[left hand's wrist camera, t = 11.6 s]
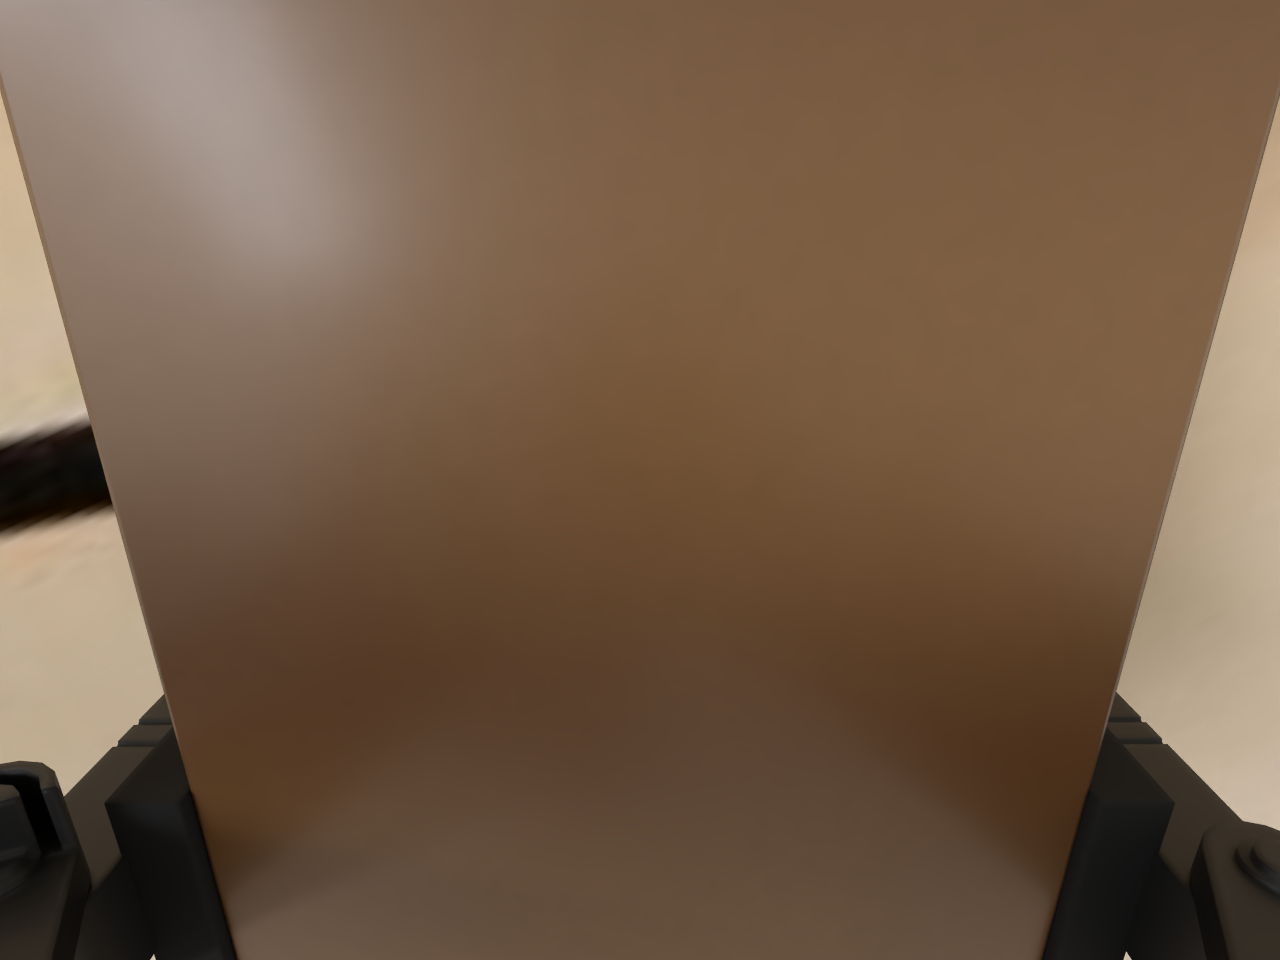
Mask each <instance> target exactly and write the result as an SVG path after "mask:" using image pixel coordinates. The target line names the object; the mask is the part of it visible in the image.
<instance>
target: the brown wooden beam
mask: <svg viewBox="0 0 1280 960" xmlns="http://www.w3.org/2000/svg"><path fill="white" fill-rule="evenodd" d="M0 91H1V95H2V98H3V102H4V106H5V110H6V113H7V117H8V121H9V124H10V128H11V132H12V135H13V139H14V143H15V146H16V150H17V154H18V157H19V161H20V165H21V168H22V172H23V176H24V179H25V183H26V187H27V190H28V194H29V198H30V201H31V205H32V209H33V212H34V216H35V220H36V223H37V227H38V231H39V235H40V238H41V242H42V246H43V249H44V253H45V257H46V260H47V264H48V268H49V271H50V275H51V279H52V282H53V286H54V290H55V293H56V297H57V301H58V304H59V308H60V312H61V315H62V319H63V323H64V326H65V330H66V334H67V337H68V341H69V345H70V348H71V352H72V356H73V359H74V363H75V367H76V371H77V374H78V378H79V382H80V385H81V389H82V393H83V396H84V400H85V404H86V407H87V411H88V415H89V418H90V422H91V426H92V429H93V433H94V437H95V440H96V444H97V448H98V451H99V455H100V459H101V462H102V466H103V470H104V473H105V477H106V481H107V484H108V488H109V492H110V495H111V499H112V503H113V507H114V510H115V514H116V518H117V521H118V525H119V529H120V532H121V536H122V540H123V543H124V547H125V551H126V554H127V558H128V562H129V565H130V569H131V573H132V576H133V580H134V584H135V587H136V591H137V595H138V598H139V602H140V606H141V609H142V613H143V617H144V620H145V624H146V628H147V632H148V635H149V639H150V643H151V646H152V650H153V654H154V657H155V661H156V665H157V668H158V672H159V676H160V679H161V683H162V687H163V690H164V694H165V698H166V701H167V705H168V709H169V712H170V716H171V720H172V723H173V727H174V731H175V734H176V738H177V742H178V745H179V749H180V753H181V756H182V760H183V764H184V768H185V771H186V775H187V779H188V782H189V786H190V790H191V793H192V797H193V801H194V804H195V808H196V812H197V815H198V819H199V823H200V826H201V830H202V834H203V837H204V841H205V845H206V848H207V852H208V856H209V859H210V863H211V867H212V870H213V874H214V878H215V881H216V885H217V889H218V893H219V896H220V900H221V904H222V907H223V911H224V915H225V918H226V922H227V926H228V929H229V933H230V937H231V940H232V944H233V948H234V951H235V955H236V959H237V960H1042V959H1043V955H1044V952H1045V948H1046V944H1047V941H1048V937H1049V933H1050V930H1051V926H1052V923H1053V919H1054V915H1055V912H1056V908H1057V904H1058V901H1059V897H1060V893H1061V890H1062V886H1063V882H1064V879H1065V875H1066V872H1067V868H1068V864H1069V861H1070V857H1071V853H1072V850H1073V846H1074V842H1075V839H1076V835H1077V832H1078V828H1079V824H1080V821H1081V817H1082V813H1083V810H1084V806H1085V802H1086V799H1087V795H1088V791H1089V788H1090V784H1091V781H1092V777H1093V773H1094V770H1095V766H1096V762H1097V759H1098V755H1099V751H1100V748H1101V744H1102V741H1103V737H1104V733H1105V730H1106V726H1107V722H1108V719H1109V715H1110V711H1111V708H1112V704H1113V700H1114V697H1115V693H1116V690H1117V686H1118V682H1119V679H1120V675H1121V671H1122V668H1123V664H1124V660H1125V657H1126V653H1127V650H1128V646H1129V642H1130V639H1131V635H1132V631H1133V628H1134V624H1135V620H1136V617H1137V613H1138V609H1139V606H1140V602H1141V599H1142V595H1143V591H1144V588H1145V584H1146V580H1147V577H1148V573H1149V569H1150V566H1151V562H1152V559H1153V555H1154V551H1155V548H1156V544H1157V540H1158V537H1159V533H1160V529H1161V526H1162V522H1163V518H1164V515H1165V511H1166V508H1167V504H1168V500H1169V497H1170V493H1171V489H1172V486H1173V482H1174V478H1175V475H1176V471H1177V468H1178V464H1179V460H1180V457H1181V453H1182V449H1183V446H1184V442H1185V438H1186V435H1187V431H1188V427H1189V424H1190V420H1191V417H1192V413H1193V409H1194V406H1195V402H1196V398H1197V395H1198V391H1199V387H1200V384H1201V380H1202V377H1203V373H1204V369H1205V366H1206V362H1207V358H1208V355H1209V351H1210V347H1211V344H1212V340H1213V336H1214V333H1215V329H1216V326H1217V322H1218V318H1219V315H1220V311H1221V307H1222V304H1223V300H1224V296H1225V293H1226V289H1227V286H1228V282H1229V278H1230V275H1231V271H1232V267H1233V264H1234V260H1235V256H1236V253H1237V249H1238V245H1239V242H1240V238H1241V235H1242V231H1243V227H1244V224H1245V220H1246V216H1247V213H1248V209H1249V205H1250V202H1251V198H1252V195H1253V191H1254V187H1255V184H1256V180H1257V176H1258V173H1259V169H1260V165H1261V162H1262V158H1263V154H1264V151H1265V147H1266V144H1267V140H1268V136H1269V133H1270V129H1271V125H1272V122H1273V118H1274V114H1275V111H1276V107H1277V104H1278V100H1279V96H1280V0H0Z"/></svg>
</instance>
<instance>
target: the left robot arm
mask: <svg viewBox="0 0 1280 960" xmlns="http://www.w3.org/2000/svg"><path fill="white" fill-rule="evenodd" d="M1126 952H1127V953H1128V955H1129V956H1130V958H1131V959H1132V960H1280V831H1279V830H1276V829H1274V828H1271V827H1268V826H1266V825H1261V824H1255V823H1250V822H1245V821H1242V820H1241V819H1240V818H1239V817H1238V816H1237V815H1236V814H1235V813H1234V812H1233V811H1232V810H1231V809H1230V808H1229V807H1228V806H1227V805H1226V804H1225V802H1224V801H1223V800H1222V799H1221V798H1220V797H1219V796H1218V795H1217V794H1216V793H1215V792H1214V791H1213V790H1212V789H1211V788H1210V787H1209V786H1208V785H1207V784H1206V783H1205V782H1204V781H1203V780H1202V779H1201V778H1200V777H1199V776H1198V775H1197V774H1196V773H1195V772H1194V771H1193V770H1192V769H1191V768H1190V767H1189V766H1188V765H1187V764H1186V763H1185V762H1184V761H1183V760H1182V759H1181V758H1180V757H1179V756H1178V755H1177V754H1176V753H1175V751H1174V750H1173V749H1172V748H1171V747H1170V746H1169V745H1168V744H1163V743H1162V738H1161V737H1160V736H1159V735H1158V734H1157V733H1156V732H1155V731H1154V730H1153V729H1152V728H1151V727H1150V726H1149V725H1148V724H1147V723H1146V722H1142V721H1141V717H1140V716H1139V715H1138V714H1137V713H1136V712H1135V711H1134V710H1133V709H1132V708H1131V707H1130V706H1129V705H1128V704H1127V703H1126V701H1125V700H1124V699H1123V698H1122V697H1121V696H1120V695H1119V694H1118V693H1117V692H1116V693H1115V697H1114V700H1113V704H1112V708H1111V711H1110V715H1109V719H1108V722H1107V726H1106V730H1105V733H1104V737H1103V741H1102V744H1101V748H1100V751H1099V755H1098V759H1097V762H1096V766H1095V770H1094V773H1093V777H1092V781H1091V784H1090V788H1089V791H1088V795H1087V799H1086V802H1085V806H1084V810H1083V813H1082V817H1081V821H1080V824H1079V828H1078V832H1077V835H1076V839H1075V842H1074V846H1073V850H1072V853H1071V857H1070V861H1069V864H1068V868H1067V872H1066V875H1065V879H1064V882H1063V886H1062V890H1061V893H1060V897H1059V901H1058V904H1057V908H1056V912H1055V915H1054V919H1053V923H1052V926H1051V930H1050V933H1049V937H1048V941H1047V944H1046V948H1045V952H1044V955H1043V959H1042V960H1123V959H1124V956H1125V953H1126ZM153 954H154V955H155V958H156V960H237V959H236V955H235V951H234V948H233V944H232V940H231V937H230V933H229V929H228V926H227V922H226V918H225V915H224V911H223V907H222V904H221V900H220V896H219V893H218V889H217V885H216V881H215V878H214V874H213V870H212V867H211V863H210V859H209V856H208V852H207V848H206V845H205V841H204V837H203V834H202V830H201V826H200V823H199V819H198V815H197V812H196V808H195V804H194V801H193V797H192V793H191V790H190V786H189V782H188V779H187V775H186V771H185V768H184V764H183V760H182V756H181V753H180V749H179V745H178V742H177V738H176V734H175V731H174V727H173V723H172V720H171V716H170V712H169V709H168V705H167V701H166V698H165V694H164V695H163V696H162V697H161V698H160V699H159V700H158V701H157V702H156V703H155V704H154V705H153V706H152V707H151V708H150V709H149V710H148V711H147V712H146V713H145V714H144V715H143V716H142V717H141V718H140V719H139V724H138V725H134V726H133V727H132V728H131V729H130V730H129V731H128V732H127V733H126V734H125V735H124V736H123V737H122V738H121V739H120V740H119V741H118V746H117V747H112V748H111V749H110V750H109V751H108V752H107V753H106V754H105V755H104V756H103V757H102V758H101V759H100V760H99V762H98V763H97V764H96V765H95V766H94V767H93V768H92V769H91V770H90V771H89V772H88V773H87V774H86V775H85V776H84V777H83V778H82V779H81V780H80V781H79V782H78V783H77V784H76V785H75V786H74V787H73V788H72V789H71V790H70V791H69V792H68V793H67V794H66V795H65V796H63V794H62V791H61V788H60V785H59V782H58V779H57V777H56V774H55V771H53V770H52V769H51V768H49V767H48V766H46V765H45V764H43V763H39V762H27V761H16V762H10V763H4V764H0V960H150V959H151V958H152V956H153Z"/></svg>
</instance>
